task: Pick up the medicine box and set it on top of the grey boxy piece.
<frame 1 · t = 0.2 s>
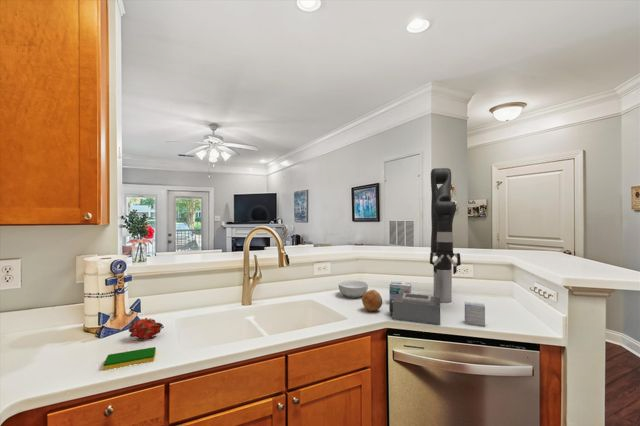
hand: (444, 273, 153), 17 cm above the worktop, tool pointing down, fingers open, 8 cm apart
medicine box: (474, 323, 133), on the worktop
light bulb box: (400, 304, 161), on the worktop
dragon fruit: (146, 338, 118), on the worktop
cereal bowl: (353, 296, 176), on the worktop
onion: (372, 310, 150), on the worktop
grey boxy piece: (416, 316, 141), on the worktop
dish sponge: (131, 362, 100), on the worktop
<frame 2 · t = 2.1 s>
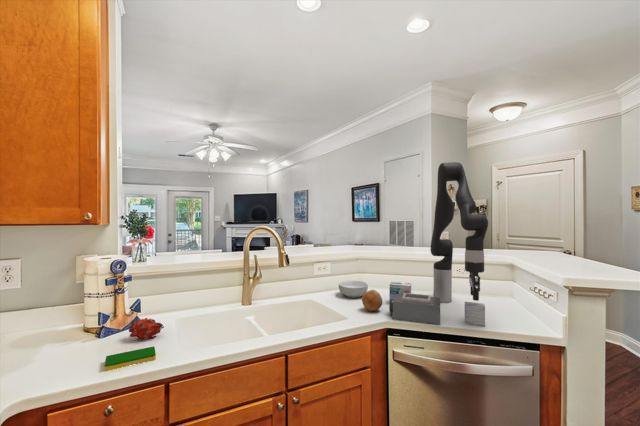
hand: (474, 297, 132), 11 cm above the worktop, tool pointing down, fingers open, 8 cm apart
nothing on the worktop moved.
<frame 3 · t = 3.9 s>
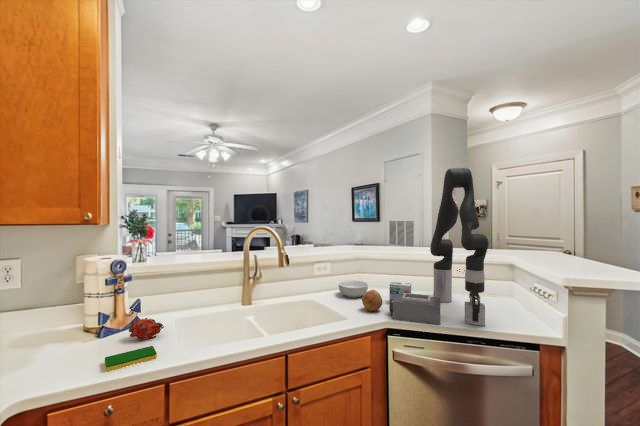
hand: (474, 319, 133), 2 cm above the worktop, tool pointing down, fingers closed on medicine box, 4 cm apart
medicine box: (474, 323, 133), on the worktop, touching gripper
everything else where it was.
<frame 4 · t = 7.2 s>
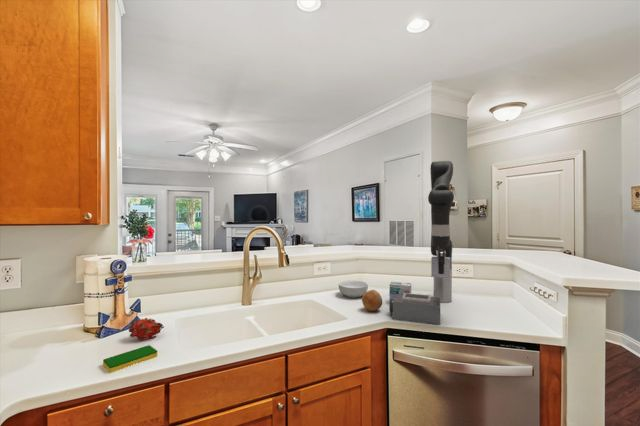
hand: (440, 272, 137), 21 cm above the worktop, tool pointing down, fingers closed on medicine box, 4 cm apart
medicine box: (440, 277, 137), point 19 cm above the worktop, touching gripper
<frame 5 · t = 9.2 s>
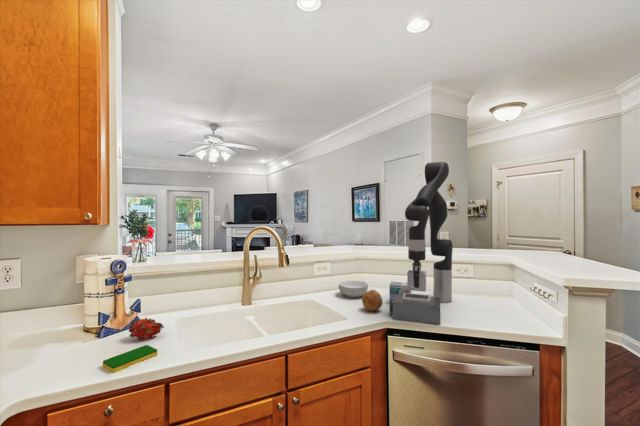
hand: (416, 285, 141), 14 cm above the worktop, tool pointing down, fingers closed on medicine box, 4 cm apart
medicine box: (416, 290, 141), point 12 cm above the worktop, touching gripper
when the fingers open (11 cm above the worktop, at t = 10.6 s): medicine box drops 1 cm, resting on grey boxy piece.
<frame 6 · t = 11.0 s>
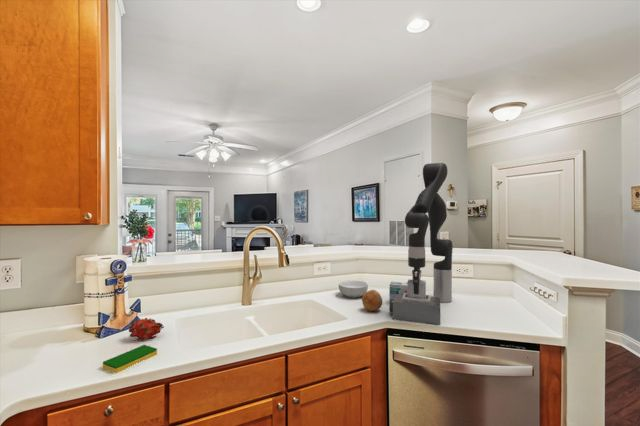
hand: (416, 291, 141), 12 cm above the worktop, tool pointing down, fingers open, 7 cm apart
medicine box: (416, 300, 141), point 8 cm above the worktop, touching grey boxy piece
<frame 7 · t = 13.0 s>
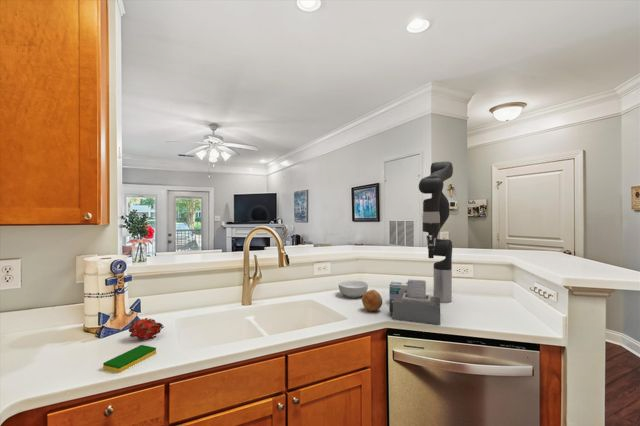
hand: (431, 256, 141), 28 cm above the worktop, tool pointing down, fingers open, 8 cm apart
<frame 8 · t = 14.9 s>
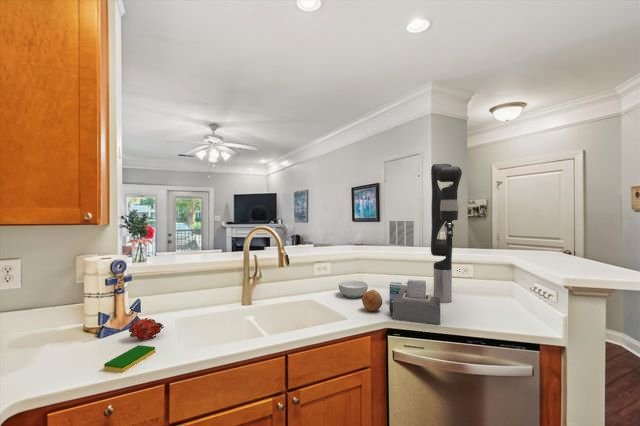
hand: (449, 244, 141), 33 cm above the worktop, tool pointing down, fingers open, 8 cm apart
at the end: medicine box 0.0 cm off-centre on the grey boxy piece, point 7.8 cm above the grey boxy piece's base; medicine box tilted 0°; the gripper is holding nothing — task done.
